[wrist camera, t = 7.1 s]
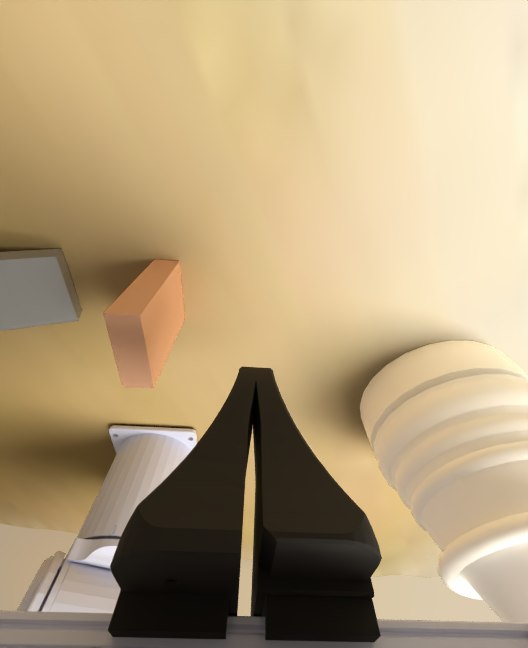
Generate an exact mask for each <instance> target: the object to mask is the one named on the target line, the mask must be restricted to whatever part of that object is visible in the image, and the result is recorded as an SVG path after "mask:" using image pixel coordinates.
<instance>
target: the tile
mask: <svg viewBox="0 0 528 648" xmlns="http://www.w3.org/2000/svg"><path fill="white" fill-rule="evenodd" d="M103 314H104V318H105V322H106V326H107V330H108V333H109V337H110V341H111V345H112V349H113V353H114V356H115V360H116V364H117V368H118V372H119V376H120V379H121V383H122V387H136V388H154V387H155V384H156V382H157V380H158V378H159V376H160V373H161V371H162V369H163V367H164V364H165V362H166V360H167V358H168V356H169V353H170V351H171V349H172V347H173V345H174V342H175V340H176V338H177V336H178V333H179V331H180V329H181V327H182V325H183V322H184V320H185V314H184V303H183V292H182V281H181V270H180V261H174V260H158V259H154V260H153V262H152V263H151V264H150V265H149V266H148V267H147V268H146V269H145V270H144V271H143V272H142V273H141V274H140V275H139V276H138V277H137V278H136V279H135V280H134V281H133V282H132V284H131V285H130V286H129V287H128V288H127V289H126V290H125V291H124V292H123V293H122V294H121V295H120V296H119V297H118V298H117V299H116V300H115V301H114V302H113V303H112V304H111V306H110V307H109V308H108V309H107V310H106V311H105V312H104V313H103Z"/></svg>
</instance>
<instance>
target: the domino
mask: <svg viewBox="0 0 528 648" xmlns="http://www.w3.org/2000/svg"><path fill="white" fill-rule="evenodd" d="M81 311H82V308H81V305H80V302H79V299H78V296H77V293H76V290H75V287H74V284H73V281H72V278H71V275H70V272H69V269H68V266H67V263H66V260H65V257H64V254H63V251H62V248H60V249H43V250H26V251H8V252H0V331H3V330H11V329H18V328H26V327H34V326H42V325H49V324H57V323H65V322H73V321H78V320H79V317H80V314H81Z"/></svg>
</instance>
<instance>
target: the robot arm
mask: <svg viewBox="0 0 528 648" xmlns="http://www.w3.org/2000/svg"><path fill="white" fill-rule="evenodd" d="M252 426H253V435H254V455H255V476H256V489H255V518H254V546H253V572H252V597H251V616H249V617H248V616H237V608H238V593H239V576H240V560H241V543H242V526H243V508H244V491H245V477H246V469H247V462H248V455H249V448H250V441H251V434H252ZM109 434H110V437H111V440H112V443H113V446H114V449H115V452H116V457H115V459H114V461H113V463H112V465H111V467H110V469H109V471H108V473H107V476H106V478H105V480H104V482H103V484H102V486H101V488H100V490H99V492H98V494H97V496H96V499H95V501H94V503H93V505H92V507H91V509H90V511H89V513H88V515H87V517H86V520H85V522H84V524H83V526H82V528H81V530H80V532H79V534H78V536H77V538H76V539H75V541H74V543H73V545H72V547H71V548H70V550H69V552H68V554H67V556H66V558H65V559H63V558H64V555H65V553H63V552H61V551H58V552H56V553H55V554H54V556H51V557H49V558H48V559H46V560H45V561H44V562H43V563H42V565H41V567H40V569H39V571H38V572H37V574H36V576H35V578H34V580H33V581H32V583H31V585H30V587H29V589H28V591H27V592H26V594H25V596H24V598H23V600H22V602H21V604H20V606H19V607H18V609H17V611H0V648H528V623H510V622H467V621H423V620H380V619H377V618H376V614H375V610H374V605H373V601H372V598H373V597H374V590H373V586H372V582H371V578H370V577H371V576H372V574H373V573H374V571H375V570H376V569H377V567H378V566H379V564H380V561H381V559H382V557H381V554H380V549H379V545H378V542H377V540H376V537H375V535H374V532H373V530H372V527H371V525H370V523H369V520H368V518H367V516H366V514H365V513H364V512H363V511H362V510H361V509H360V508H359V507H358V506H357V504H356V503H355V502H354V501H353V500H352V499H351V498H350V497H349V496H348V495H347V494H346V493H345V492H344V491H343V489H342V488H341V487H340V486H339V485H338V484H337V482H336V481H335V480H334V479H333V478H332V477H331V475H330V474H329V473H328V471H327V470H326V469H325V468H324V466H323V465H322V464H321V462H320V461H319V460H318V459H317V457H316V456H315V455H314V453H313V452H312V450H311V449H310V447H309V446H308V444H307V443H306V441H305V440H304V438H303V437H302V435H301V433H300V432H299V430H298V428H297V427H296V425H295V423H294V421H293V419H292V418H291V416H290V414H289V412H288V410H287V408H286V406H285V403H284V401H283V399H282V397H281V394H280V392H279V389H278V387H277V384H276V381H275V378H274V374H273V370H272V369H271V368H255V367H241V368H240V369H239V373H238V376H237V379H236V381H235V384H234V386H233V388H232V390H231V392H230V394H229V396H228V398H227V400H226V402H225V403H224V405H223V407H222V408H221V410H220V412H219V413H218V415H217V417H216V418H215V420H214V421H213V423H212V424H211V426H210V427H209V428H208V430H207V431H206V433H205V434H204V435H203V437H202V438H201V439H200V441H199V442H198V443H197V434H196V431H195V430H194V429H185V428H163V427H140V426H118V425H113V426H111V427H110V429H109Z"/></svg>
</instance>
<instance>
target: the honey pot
mask: <svg viewBox="0 0 528 648" xmlns="http://www.w3.org/2000/svg"><path fill="white" fill-rule="evenodd" d="M360 413H361V419H362V422H363V425H364V428H365V431H366V433H367V436H368V439H369V442H370V445H371V447H372V450H373V452H374V454H375V458H376V459H377V461H378V466H379V469H380V471H381V472H382V474H383V476H384V477H385V479H386V481H387V482H388V484H389V486H391V487H392V488H393V489H395V490H396V491H397V492H398V494H399V496H400V498H401V499H402V501H403V503H404V504H405V506H406V507H408V508H409V509H410V510H411V513H412V515H413V517H414V518H415V520H416V522H417V524H418V525H419V526H420V527H421V528H422V529H424V530H425V531H426V532H428V533H429V535H430V536H431V537H432V539H433V540H434V541H435V543H436V544H437V545H438V546H439V548H440V549H441V550H442V551H443V552H442V554H441V555H440V556H439V561H438V568H437V570H438V574H439V575H440V577H441V579H442V580H443V582H444V583H445V585H446V586H447V587H448V588H449V589H451V590H453V591H455V592H456V593H458V594H460V595H462V596H466V597H470V598H474V599H481V600H483V601H484V602H485V603H486V604H487V605H488V606H489V607H490V608H491V610H493V612H494V613H495V614H496V615H497V616H498V617H499V618H500V619H501V620H502V622H510V623H528V374H527V373H526V372H524V371H523V370H522V369H521V368H520V367H519V366H517V365H516V364H515V363H514V362H513V361H512V360H511V359H509V358H508V357H507V356H506V355H505V354H503V353H502V352H500V351H499V350H497V349H495V348H494V347H492V346H491V345H487V344H483V343H479V342H476V341H468V340H449V341H444V342H439V343H433V344H428V345H425V346H422V347H420V348H417V349H415V350H412V351H410V352H407V353H405V354H403V355H402V356H400V357H398V358H397V359H395V360H393V361H392V362H390V363H389V364H387V365H386V366H385V367H384V368H383V369H382V370H380V371H379V372H378V373H377V374H376V375H375V376H374V377H373V378H372V380H371V381H370V383H369V384H368V386H367V387H366V389H365V390H364V392H363V395H362V399H361V403H360Z"/></svg>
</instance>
